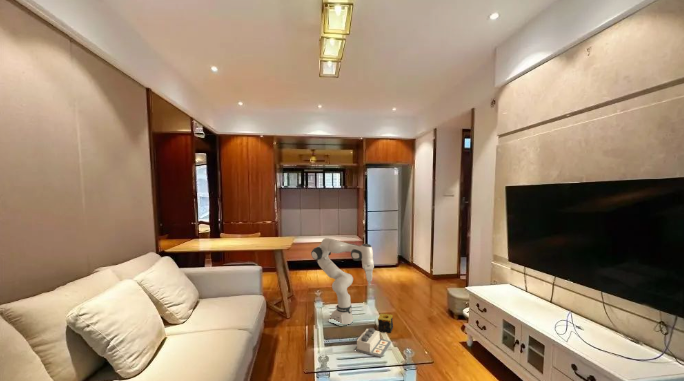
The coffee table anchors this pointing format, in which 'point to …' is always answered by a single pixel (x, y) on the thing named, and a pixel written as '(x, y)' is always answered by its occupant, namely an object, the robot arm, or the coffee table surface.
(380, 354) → the switch unit
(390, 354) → the coffee table surface
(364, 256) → the robot arm
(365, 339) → the switch
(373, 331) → the switch
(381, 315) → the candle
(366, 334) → the switch
